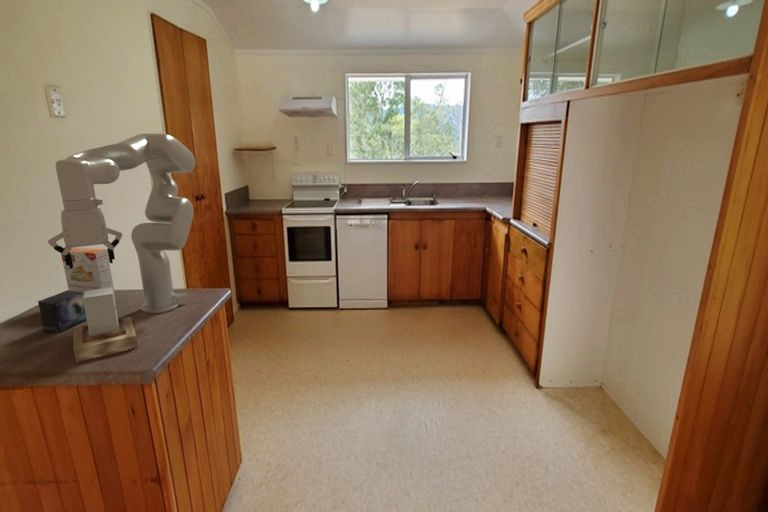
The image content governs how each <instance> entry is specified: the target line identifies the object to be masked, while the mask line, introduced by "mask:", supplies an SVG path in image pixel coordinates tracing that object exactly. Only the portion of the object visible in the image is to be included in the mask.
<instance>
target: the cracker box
mask: <svg viewBox="0 0 768 512" xmlns="http://www.w3.org/2000/svg"><path fill="white" fill-rule="evenodd" d="M69 252H70V253H71V257H72V262H73V268H72V269H70V266H69V265H68V266H66V262H65V257H64V255H63V254H62V253H60V255H61V260H62V263H63V269H64V275H65V278H66V279H65V280H66V284H67V288H68V290H69V291H76V292H82V293H83V295H84V291H88V290H95V289H101V288H108V287H113V292H114V298H115V302H116V301H117V299H116V294H115V288H114V282H113V276H112V271H111V266H110V262H109V256H108V251H107V249H105V248H88V247H72V249H71V250H70V251H69Z"/></svg>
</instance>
